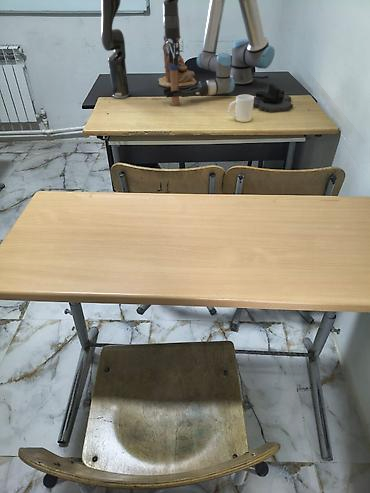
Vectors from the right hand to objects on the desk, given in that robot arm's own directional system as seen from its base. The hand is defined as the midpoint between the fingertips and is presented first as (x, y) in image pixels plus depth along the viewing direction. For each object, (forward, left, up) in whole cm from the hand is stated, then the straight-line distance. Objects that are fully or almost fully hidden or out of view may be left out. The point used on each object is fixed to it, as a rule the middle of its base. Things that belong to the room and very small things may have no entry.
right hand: (165, 93), depth 188 cm
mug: (-11, +42, -6) cm, 44 cm away
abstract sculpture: (-37, +41, -6) cm, 56 cm away
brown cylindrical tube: (-5, +2, -6) cm, 8 cm away
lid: (-5, +2, +13) cm, 14 cm away
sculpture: (-33, -26, -6) cm, 42 cm away
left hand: (-5, +2, +14) cm, 15 cm away
